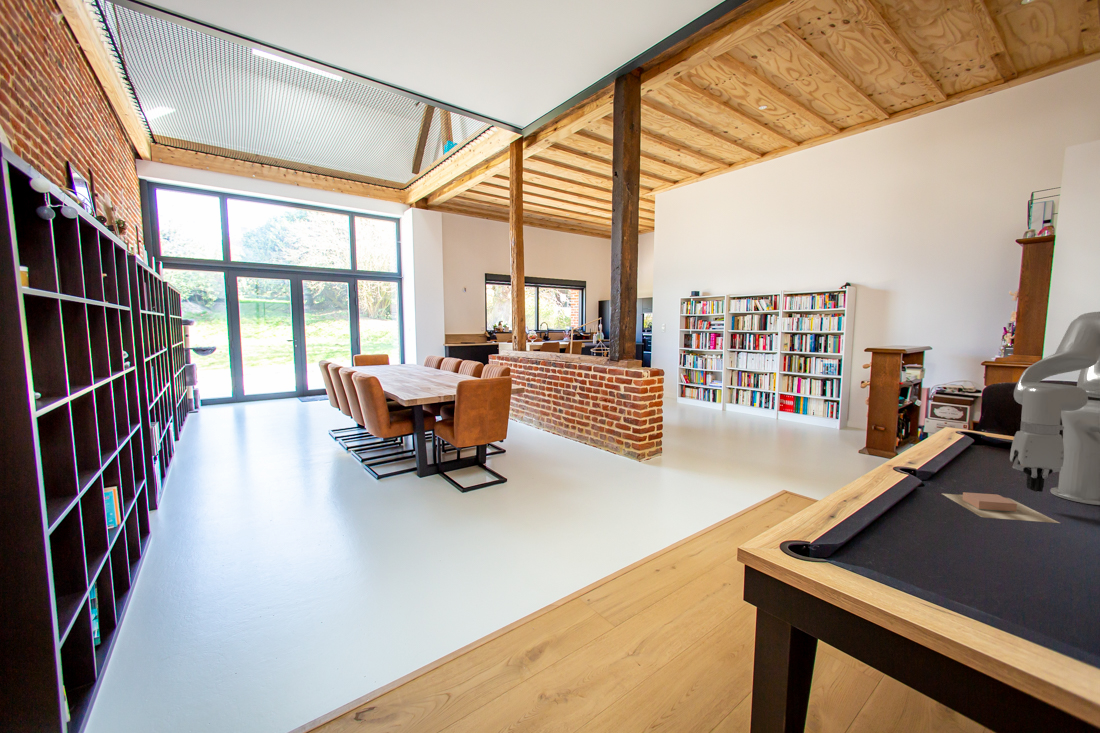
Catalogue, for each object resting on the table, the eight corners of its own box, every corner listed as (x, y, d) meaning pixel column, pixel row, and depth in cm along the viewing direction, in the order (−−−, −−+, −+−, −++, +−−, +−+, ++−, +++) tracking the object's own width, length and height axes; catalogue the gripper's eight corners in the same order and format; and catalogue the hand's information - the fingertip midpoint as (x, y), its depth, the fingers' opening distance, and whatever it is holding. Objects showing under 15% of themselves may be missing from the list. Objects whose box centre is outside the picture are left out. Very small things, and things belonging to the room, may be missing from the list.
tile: (998, 494, 132) (963, 492, 134) (1016, 503, 125) (979, 501, 127) (997, 503, 132) (962, 500, 134) (1016, 512, 125) (978, 509, 128)
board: (1008, 500, 136) (1008, 497, 136) (1060, 526, 119) (1060, 523, 119) (940, 496, 140) (941, 493, 140) (981, 520, 123) (981, 517, 123)
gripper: (1060, 426, 127) (1055, 486, 129) (998, 425, 131) (994, 483, 132) (1084, 432, 120) (1078, 496, 122) (1018, 431, 123) (1013, 493, 125)
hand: (1034, 489), depth 127 cm, fingers closed
